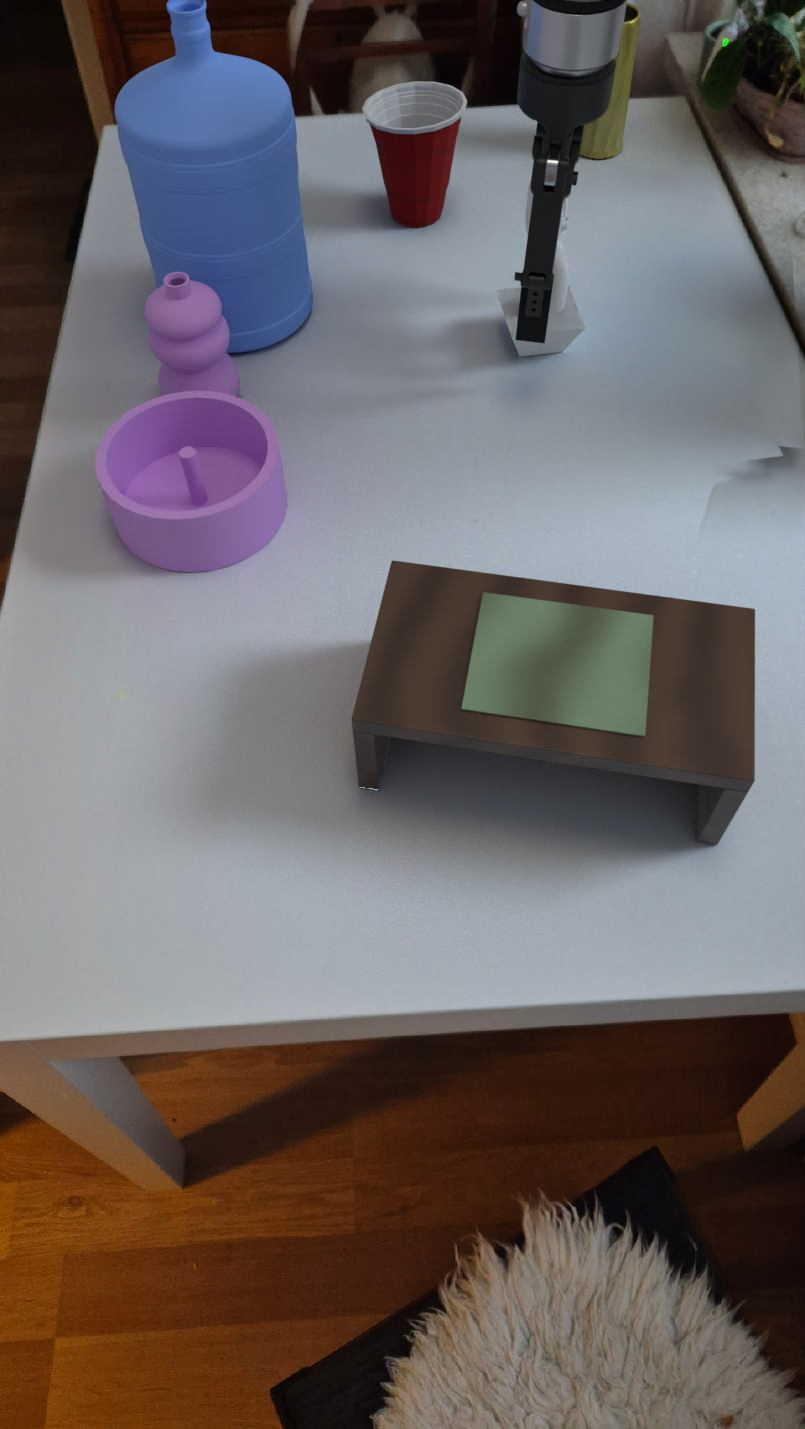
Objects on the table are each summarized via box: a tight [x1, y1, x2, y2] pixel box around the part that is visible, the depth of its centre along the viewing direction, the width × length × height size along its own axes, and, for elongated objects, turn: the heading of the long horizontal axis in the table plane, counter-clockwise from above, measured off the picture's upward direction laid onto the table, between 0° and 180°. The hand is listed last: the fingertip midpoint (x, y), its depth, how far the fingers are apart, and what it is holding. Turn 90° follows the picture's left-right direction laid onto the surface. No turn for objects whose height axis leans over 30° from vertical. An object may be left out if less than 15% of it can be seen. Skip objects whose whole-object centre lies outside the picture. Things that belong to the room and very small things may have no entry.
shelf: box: [351, 559, 756, 846], centre depth 72 cm, size 26×14×10 cm, turn 79°
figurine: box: [495, 180, 586, 358], centre depth 95 cm, size 7×9×15 cm
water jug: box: [114, 0, 314, 354], centre depth 93 cm, size 16×16×28 cm
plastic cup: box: [361, 81, 468, 228], centre depth 108 cm, size 11×11×12 cm
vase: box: [579, 2, 642, 160], centre depth 114 cm, size 6×6×14 cm
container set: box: [94, 272, 288, 573], centre depth 87 cm, size 25×15×13 cm, turn 5°
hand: (538, 294), depth 97 cm, fingers open, 13 cm apart
